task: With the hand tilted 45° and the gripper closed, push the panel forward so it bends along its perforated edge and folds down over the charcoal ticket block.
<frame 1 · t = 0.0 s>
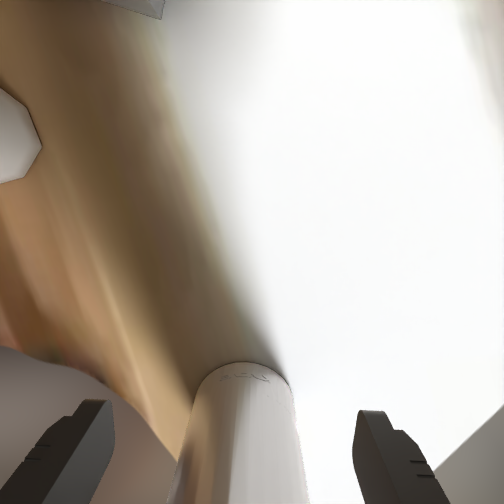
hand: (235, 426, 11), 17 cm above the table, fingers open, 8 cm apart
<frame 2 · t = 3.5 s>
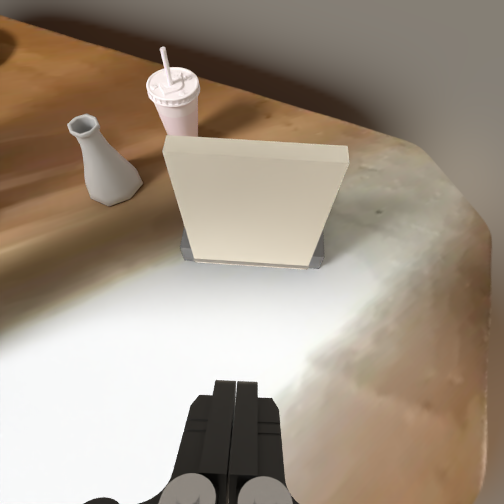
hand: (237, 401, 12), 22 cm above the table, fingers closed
flask: (115, 185, 44), on the table
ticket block: (251, 264, 39), on the table
smoothie: (185, 145, 48), on the table
panel: (253, 218, 28), point 11 cm above the table, hinge at 0.0°
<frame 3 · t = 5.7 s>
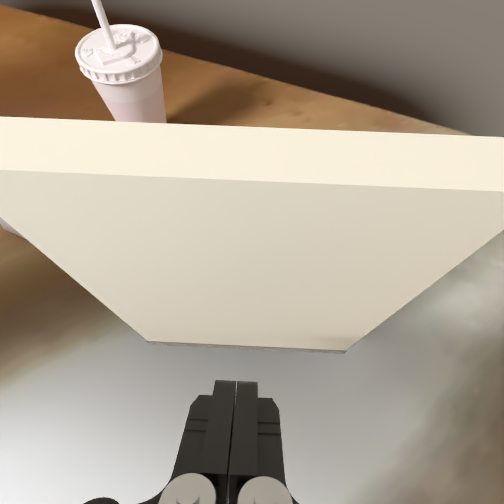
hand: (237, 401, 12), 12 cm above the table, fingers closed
smoothie: (151, 144, 33), on the table
panel: (246, 291, 14), point 11 cm above the table, hinge at 0.0°
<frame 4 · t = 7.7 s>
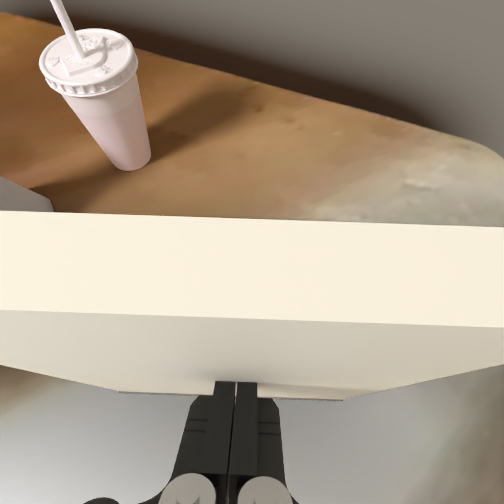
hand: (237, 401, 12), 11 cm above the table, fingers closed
flask: (14, 228, 27), on the table
smoothie: (132, 157, 31), on the table
panel: (222, 359, 12), point 11 cm above the table, hinge at 0.1°, touching gripper
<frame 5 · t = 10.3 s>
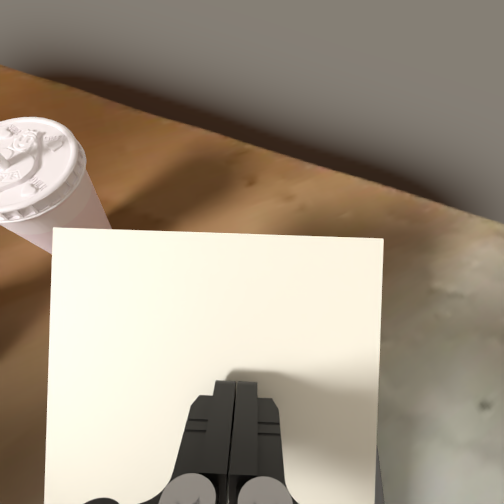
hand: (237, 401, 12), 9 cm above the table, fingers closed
smoothie: (93, 250, 25), on the table
panel: (213, 441, 13), point 8 cm above the table, hinge at 62.8°, touching gripper
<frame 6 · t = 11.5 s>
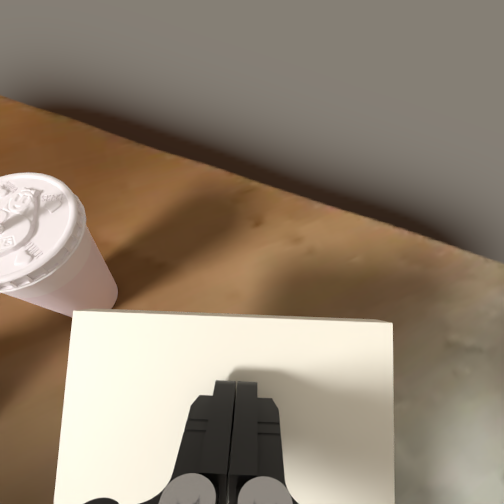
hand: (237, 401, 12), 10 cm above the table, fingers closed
smoothie: (93, 297, 24), on the table
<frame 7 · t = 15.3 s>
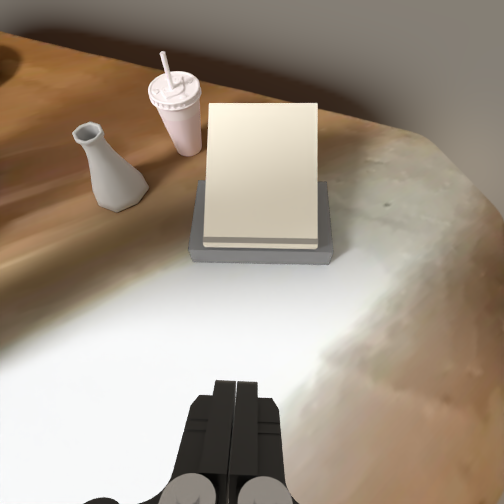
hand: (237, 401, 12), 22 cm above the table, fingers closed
flask: (122, 191, 45), on the table
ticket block: (260, 263, 39), on the table
smoothie: (189, 148, 48), on the table
panel: (261, 175, 36), point 7 cm above the table, hinge at 68.4°
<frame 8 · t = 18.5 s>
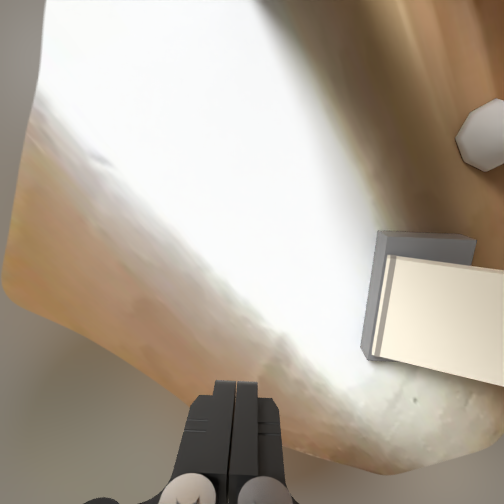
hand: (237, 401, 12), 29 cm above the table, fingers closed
flask: (487, 136, 36), on the table
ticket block: (368, 291, 42), on the table
panel: (458, 321, 35), point 7 cm above the table, hinge at 68.4°
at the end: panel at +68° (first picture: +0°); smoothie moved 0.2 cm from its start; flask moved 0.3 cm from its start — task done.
